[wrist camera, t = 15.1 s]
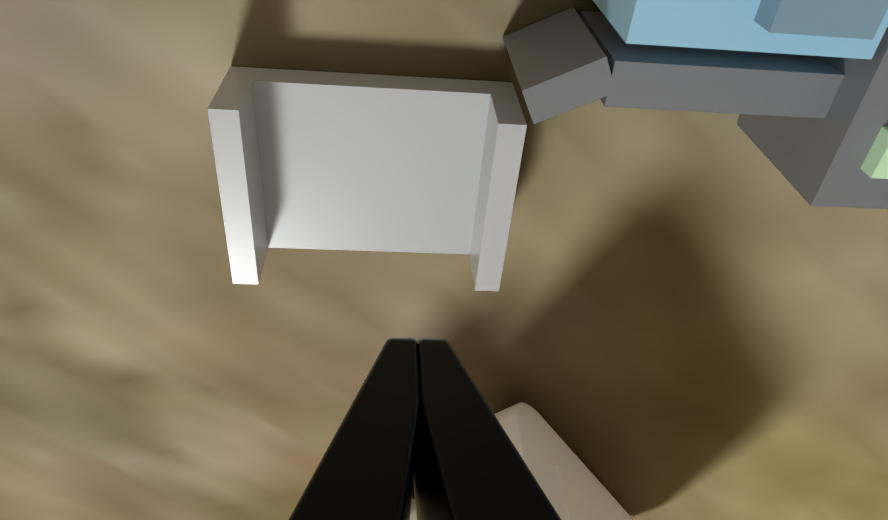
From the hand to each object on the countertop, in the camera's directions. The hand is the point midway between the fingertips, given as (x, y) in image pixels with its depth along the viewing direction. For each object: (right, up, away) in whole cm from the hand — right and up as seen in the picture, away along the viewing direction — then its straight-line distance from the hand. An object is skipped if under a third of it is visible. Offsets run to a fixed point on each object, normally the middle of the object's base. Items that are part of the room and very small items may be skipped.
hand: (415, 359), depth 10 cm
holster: (-2, +5, +13) cm, 14 cm away
